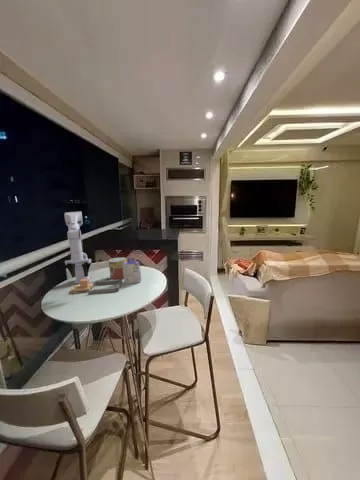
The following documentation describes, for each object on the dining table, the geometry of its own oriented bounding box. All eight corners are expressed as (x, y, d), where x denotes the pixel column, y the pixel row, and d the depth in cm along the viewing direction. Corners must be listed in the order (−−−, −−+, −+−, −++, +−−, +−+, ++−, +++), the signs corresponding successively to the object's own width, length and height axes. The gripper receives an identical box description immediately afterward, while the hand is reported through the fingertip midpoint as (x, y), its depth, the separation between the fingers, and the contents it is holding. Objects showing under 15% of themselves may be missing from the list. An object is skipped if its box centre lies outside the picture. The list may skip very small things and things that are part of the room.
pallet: (76, 288, 152) (75, 284, 152) (93, 287, 153) (92, 283, 152) (71, 293, 144) (71, 289, 144) (89, 292, 145) (89, 288, 144)
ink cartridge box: (141, 279, 160) (139, 257, 157) (140, 282, 154) (138, 259, 152) (125, 280, 159) (123, 258, 157) (124, 284, 154) (121, 260, 151)
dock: (95, 283, 157) (95, 280, 157) (122, 281, 158) (122, 278, 158) (87, 295, 140) (87, 291, 140) (117, 292, 141) (117, 288, 141)
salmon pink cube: (82, 285, 150) (81, 278, 149) (89, 284, 150) (88, 278, 149) (80, 287, 146) (79, 281, 145) (87, 287, 146) (86, 280, 146)
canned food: (107, 277, 168) (105, 260, 165) (122, 273, 175) (120, 256, 173) (115, 281, 159) (113, 262, 157) (131, 276, 167) (129, 258, 164)
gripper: (59, 254, 135) (63, 279, 136) (84, 252, 132) (88, 278, 133) (68, 251, 142) (71, 275, 143) (92, 250, 139) (95, 274, 140)
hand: (80, 276), depth 139 cm, fingers open, 7 cm apart
